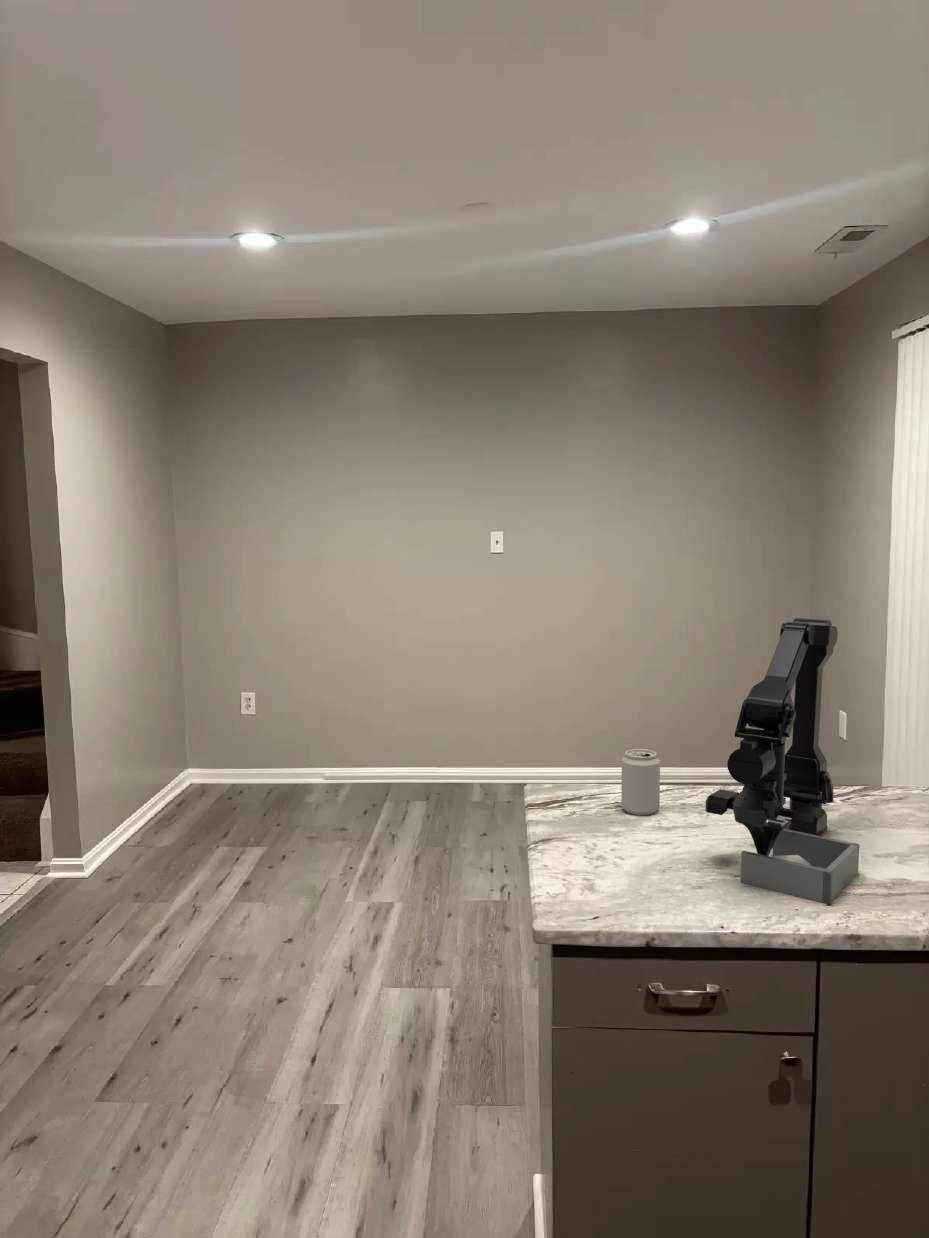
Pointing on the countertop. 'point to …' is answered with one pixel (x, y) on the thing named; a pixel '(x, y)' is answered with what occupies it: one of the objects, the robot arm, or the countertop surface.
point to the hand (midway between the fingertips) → (763, 860)
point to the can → (640, 782)
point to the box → (803, 866)
